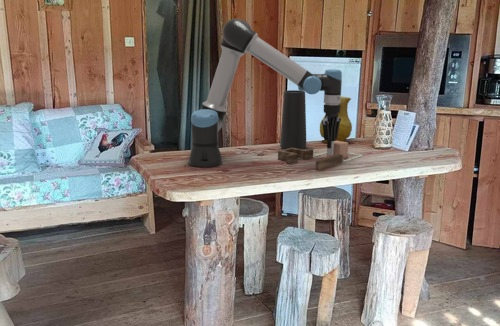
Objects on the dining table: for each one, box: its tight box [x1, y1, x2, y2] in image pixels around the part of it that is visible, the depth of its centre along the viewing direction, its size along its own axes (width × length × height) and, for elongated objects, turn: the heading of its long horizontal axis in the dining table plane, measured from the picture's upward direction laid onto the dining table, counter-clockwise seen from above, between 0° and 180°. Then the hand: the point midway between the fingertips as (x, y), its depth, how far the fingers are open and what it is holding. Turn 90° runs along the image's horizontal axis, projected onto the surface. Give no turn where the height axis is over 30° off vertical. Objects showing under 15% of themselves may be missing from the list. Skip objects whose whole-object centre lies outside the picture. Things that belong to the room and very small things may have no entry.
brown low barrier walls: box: [277, 148, 344, 172], centre depth 221 cm, size 26×18×4 cm
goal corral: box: [313, 151, 364, 163], centre depth 233 cm, size 17×16×1 cm
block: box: [326, 141, 349, 159], centre depth 231 cm, size 7×7×7 cm
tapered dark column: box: [279, 89, 307, 150], centre depth 249 cm, size 14×14×29 cm
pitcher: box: [319, 96, 353, 144], centre depth 264 cm, size 17×19×25 cm
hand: (330, 154), depth 227 cm, fingers closed
